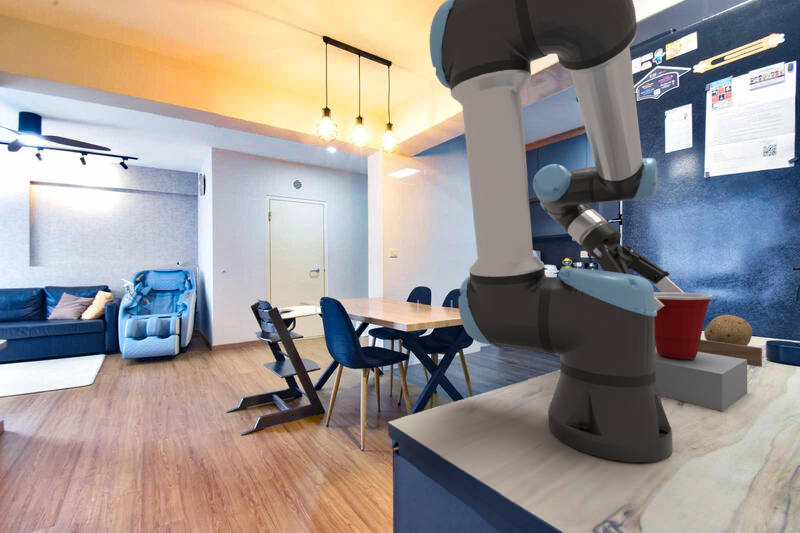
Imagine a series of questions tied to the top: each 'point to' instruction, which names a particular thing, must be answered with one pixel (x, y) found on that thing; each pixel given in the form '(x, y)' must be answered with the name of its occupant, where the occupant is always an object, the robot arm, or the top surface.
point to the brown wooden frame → (732, 351)
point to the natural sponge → (729, 330)
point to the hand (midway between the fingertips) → (673, 307)
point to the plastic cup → (680, 323)
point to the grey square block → (702, 379)
